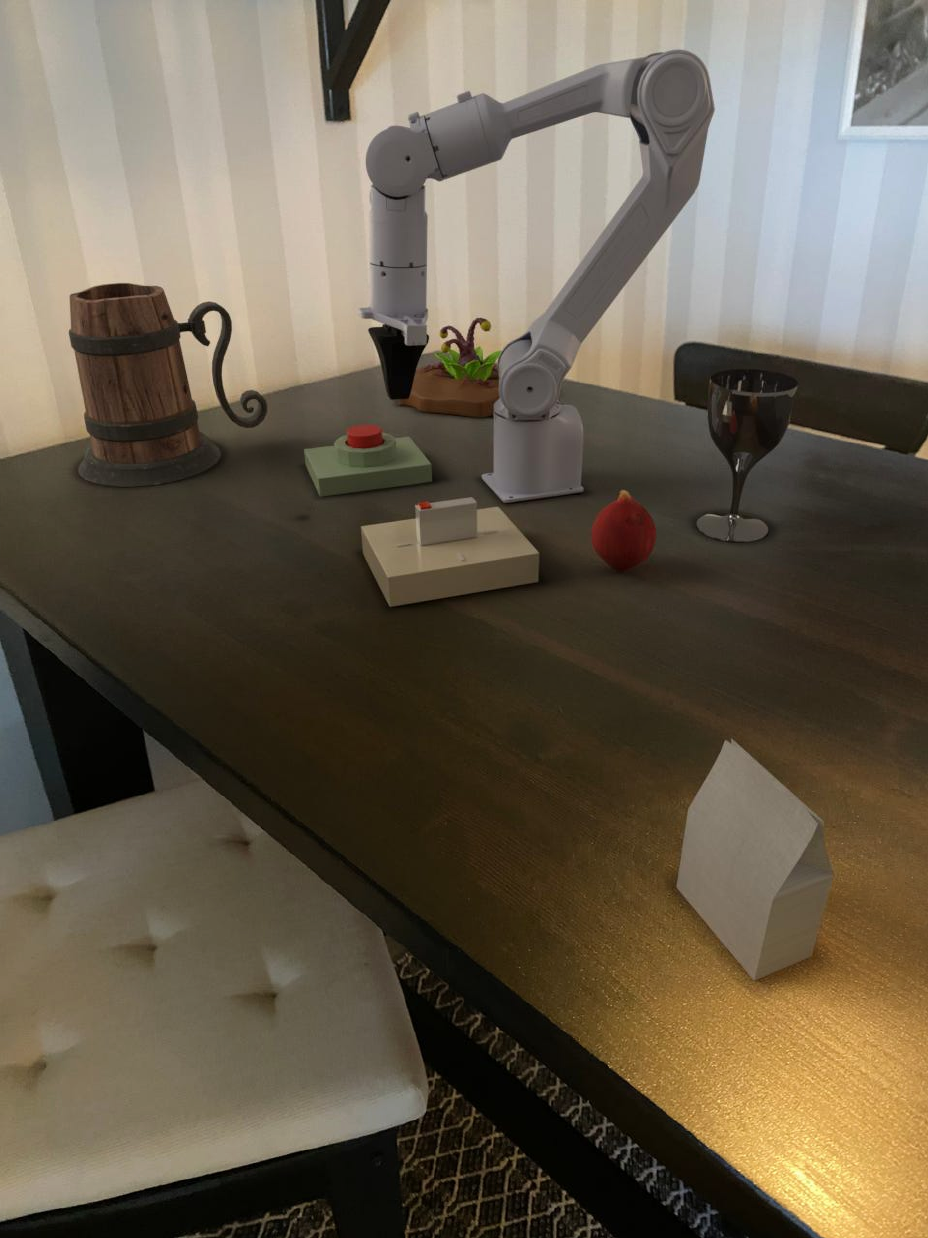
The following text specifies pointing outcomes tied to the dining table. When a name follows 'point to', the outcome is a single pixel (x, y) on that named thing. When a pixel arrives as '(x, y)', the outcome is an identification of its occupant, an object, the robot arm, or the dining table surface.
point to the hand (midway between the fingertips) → (398, 397)
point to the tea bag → (755, 864)
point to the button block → (367, 466)
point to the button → (364, 436)
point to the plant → (458, 379)
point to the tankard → (144, 386)
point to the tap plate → (448, 560)
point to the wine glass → (745, 437)
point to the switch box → (446, 520)
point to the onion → (623, 533)
